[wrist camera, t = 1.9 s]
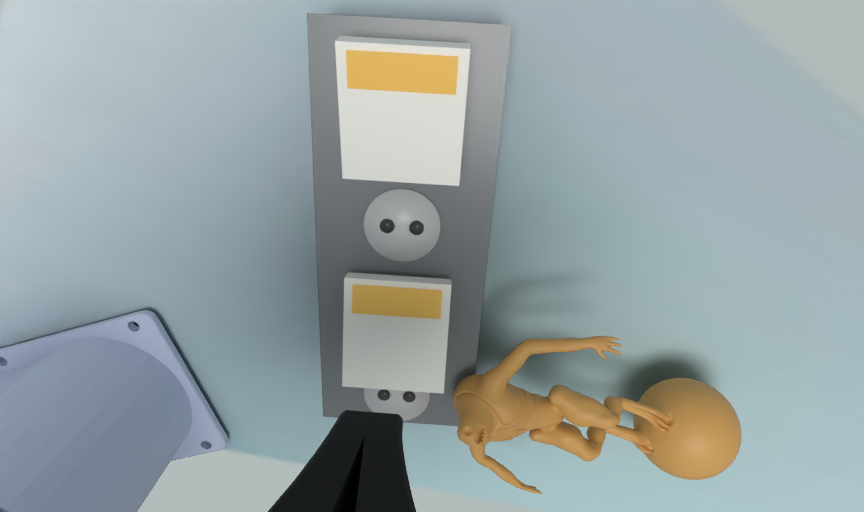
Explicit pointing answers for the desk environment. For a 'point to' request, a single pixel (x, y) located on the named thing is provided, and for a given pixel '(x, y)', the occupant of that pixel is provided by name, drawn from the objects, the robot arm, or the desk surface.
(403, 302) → the far rocker
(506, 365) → the figurine
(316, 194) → the power strip
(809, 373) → the desk surface
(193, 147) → the desk surface
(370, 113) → the near rocker
